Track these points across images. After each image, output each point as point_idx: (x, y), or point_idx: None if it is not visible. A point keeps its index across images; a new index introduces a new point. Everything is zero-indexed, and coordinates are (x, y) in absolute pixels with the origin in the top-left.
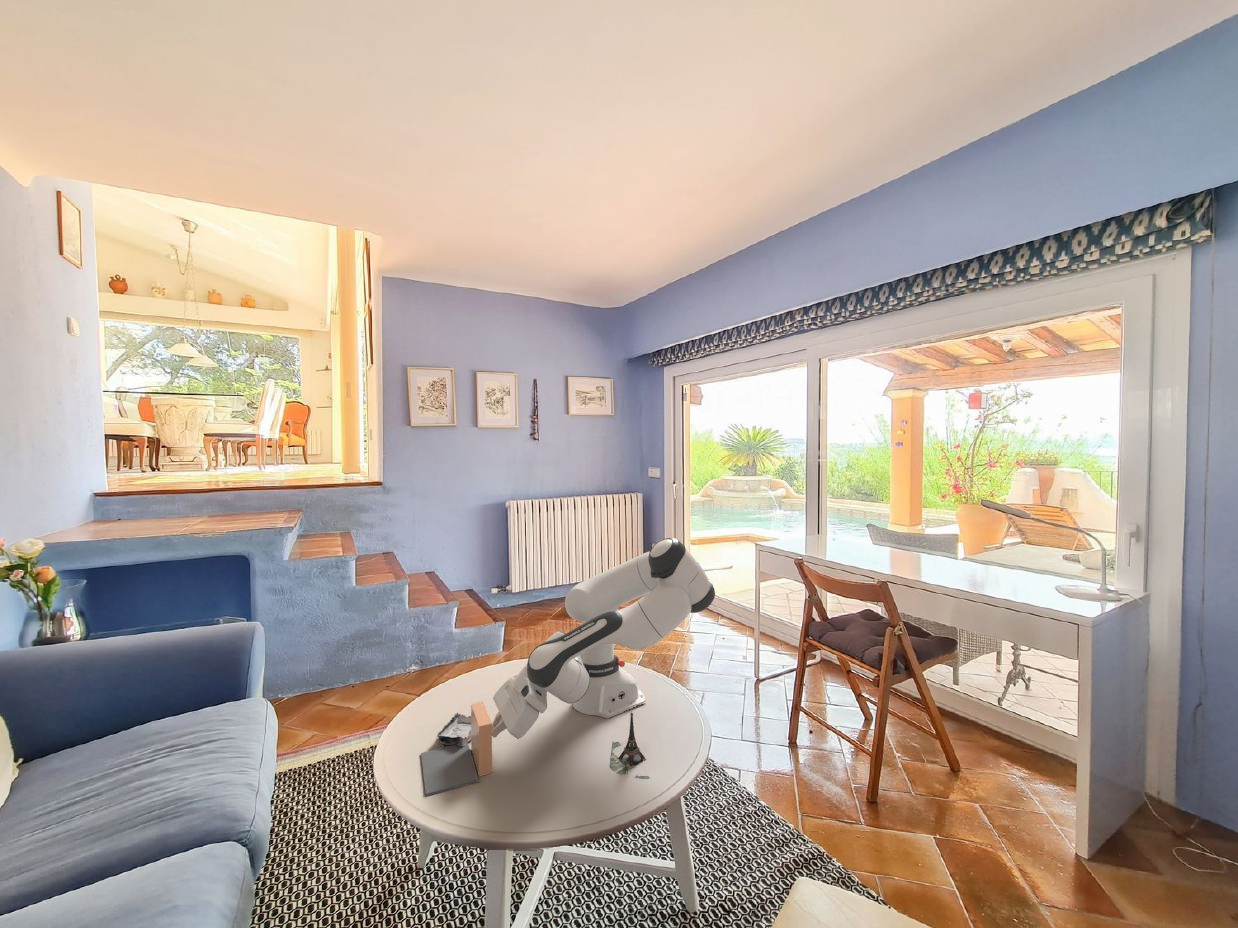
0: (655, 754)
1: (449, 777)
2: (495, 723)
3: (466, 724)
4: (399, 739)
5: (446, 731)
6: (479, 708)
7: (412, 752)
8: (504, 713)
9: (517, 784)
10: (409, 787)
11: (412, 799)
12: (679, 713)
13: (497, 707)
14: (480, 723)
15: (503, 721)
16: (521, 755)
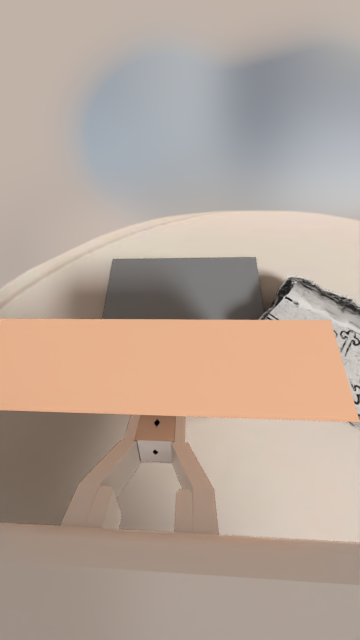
0: None
1: (138, 299)
2: (174, 456)
3: None
4: (329, 228)
5: (332, 308)
6: (228, 365)
7: (269, 247)
8: (35, 592)
9: (27, 446)
10: (154, 241)
11: (119, 244)
12: None
13: (249, 541)
14: (16, 333)
15: (65, 519)
16: (142, 506)
